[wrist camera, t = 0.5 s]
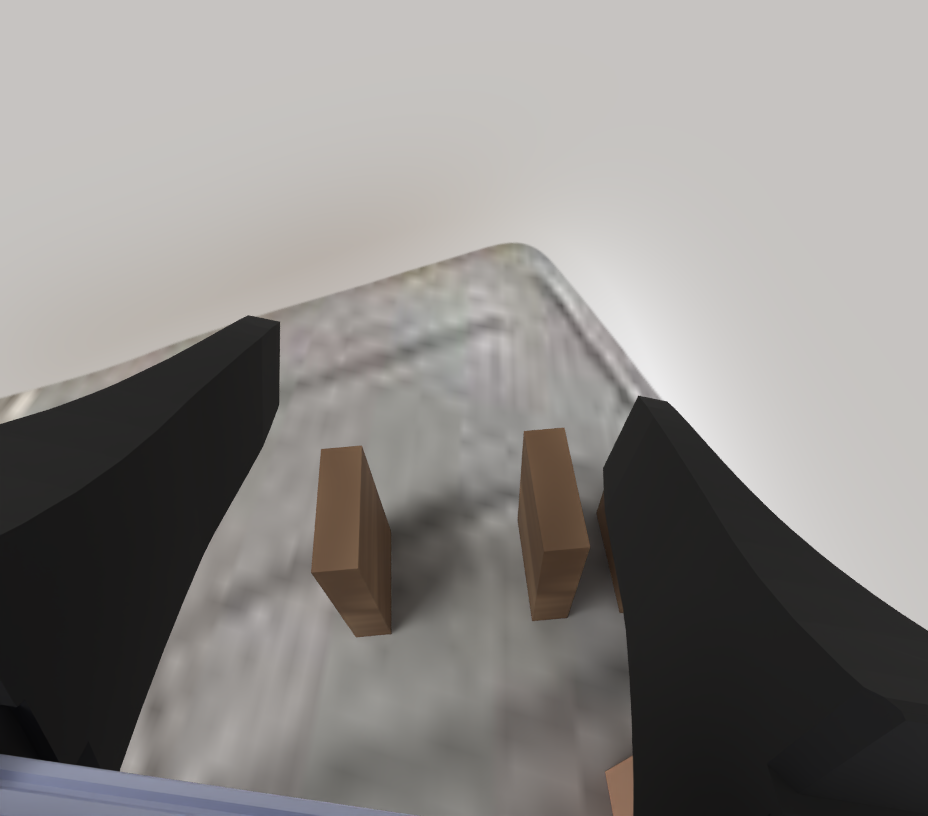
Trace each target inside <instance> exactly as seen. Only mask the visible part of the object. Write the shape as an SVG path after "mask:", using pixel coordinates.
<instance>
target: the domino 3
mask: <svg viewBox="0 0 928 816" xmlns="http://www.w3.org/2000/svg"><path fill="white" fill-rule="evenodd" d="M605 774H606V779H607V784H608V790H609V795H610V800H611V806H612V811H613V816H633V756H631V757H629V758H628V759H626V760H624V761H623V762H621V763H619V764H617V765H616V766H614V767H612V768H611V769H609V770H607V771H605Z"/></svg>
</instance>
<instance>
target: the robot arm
mask: <svg viewBox="0 0 928 816" xmlns="http://www.w3.org/2000/svg"><path fill="white" fill-rule="evenodd" d="M279 369H280V322H278V321H273V320H268V319H264V318H259V317H254V316H246V317H244V318H242V319H240V320H238V321H236V322H234V323H233V324H231V325H229V326H227V327H225V328H224V329H222V330H220V331H218V332H216V333H215V334H213V335H211V336H209V337H208V338H206V339H204V340H202V341H200V342H199V343H197V344H195V345H193V346H191V347H189V348H187V349H186V350H184V351H182V352H180V353H178V354H176V355H175V356H173V357H171V358H169V359H167V360H165V361H163V362H161V363H159V364H157V365H154V366H152V367H150V368H148V369H146V370H144V371H142V372H140V373H138V374H136V375H134V376H132V377H129V378H127V379H125V380H123V381H121V382H119V383H117V384H114V385H112V386H110V387H107V388H105V389H102V390H100V391H97V392H95V393H93V394H90V395H87V396H85V397H82V398H79V399H77V400H74V401H71V402H69V403H66V404H63V405H60V406H58V407H55V408H52V409H49V410H46V411H42V412H39V413H36V414H32V415H29V416H26V417H23V418H19V419H16V420H13V421H9V422H6V423H3V424H0V816H417V815H411V814H404V813H397V812H390V811H383V810H377V809H370V808H363V807H356V806H350V805H343V804H336V803H329V802H322V801H316V800H309V799H302V798H295V797H288V796H282V795H275V794H268V793H261V792H254V791H248V790H241V789H234V788H227V787H220V786H214V785H207V784H200V783H193V782H187V781H180V780H173V779H166V778H159V777H153V776H146V775H139V774H132V773H125V772H119V771H120V768H121V765H122V762H123V760H124V757H125V754H126V751H127V748H128V746H129V743H130V740H131V737H132V734H133V731H134V729H135V726H136V723H137V720H138V717H139V715H140V712H141V709H142V706H143V704H144V701H145V698H146V696H147V693H148V690H149V688H150V685H151V682H152V680H153V677H154V675H155V672H156V669H157V667H158V664H159V661H160V659H161V656H162V653H163V651H164V648H165V646H166V643H167V641H168V638H169V636H170V633H171V631H172V629H173V626H174V624H175V621H176V619H177V616H178V614H179V611H180V609H181V606H182V604H183V601H184V599H185V597H186V594H187V592H188V590H189V587H190V585H191V583H192V580H193V578H194V575H195V573H196V571H197V568H198V566H199V564H200V561H201V559H202V557H203V555H204V553H205V551H206V549H207V547H208V545H209V543H210V541H211V539H212V537H213V535H214V533H215V531H216V529H217V528H218V526H219V524H220V522H221V521H222V519H223V517H224V515H225V514H226V512H227V510H228V508H229V506H230V505H231V503H232V501H233V499H234V498H235V496H236V494H237V492H238V491H239V489H240V487H241V485H242V483H243V482H244V480H245V478H246V476H247V475H248V473H249V471H250V469H251V467H252V466H253V464H254V462H255V460H256V458H257V457H258V455H259V453H260V451H261V449H262V447H263V445H264V443H265V440H266V438H267V435H268V433H269V430H270V428H271V425H272V422H273V420H274V417H275V414H276V412H277V409H278V406H279ZM603 479H604V505H605V515H606V521H607V527H608V532H609V538H610V543H611V549H612V554H613V559H614V564H615V570H616V575H617V580H618V585H619V591H620V596H621V601H622V606H623V613H624V620H625V627H626V637H627V650H628V663H629V676H630V695H631V715H632V745H633V816H928V631H927V630H926V629H924V628H923V627H921V626H920V625H918V624H916V623H915V622H913V621H912V620H910V619H909V618H907V617H906V616H904V615H902V614H901V613H900V612H898V611H897V610H895V609H894V608H892V607H891V606H889V605H888V604H886V603H885V602H884V601H882V600H881V599H879V598H878V597H876V596H875V595H873V594H872V593H871V592H870V591H868V590H867V589H866V588H864V587H863V586H862V585H860V584H859V583H857V582H856V581H855V580H853V579H852V578H851V577H849V576H848V575H847V574H845V573H844V572H843V571H841V570H840V569H839V568H837V567H836V566H835V565H833V564H832V563H831V562H830V561H829V560H827V559H826V558H825V557H823V556H822V555H821V554H820V553H819V552H817V551H816V550H815V549H814V548H813V547H811V546H810V545H809V544H808V543H807V542H806V541H804V540H803V539H802V538H801V537H800V536H799V535H797V534H796V533H795V532H794V531H793V530H791V529H790V528H789V527H788V526H787V525H786V524H785V523H784V522H783V521H782V520H780V519H779V518H778V517H777V516H776V515H775V514H774V513H773V512H772V511H771V510H770V509H769V508H768V507H767V506H766V505H764V504H763V502H762V501H761V500H760V499H759V498H758V497H757V496H756V495H754V493H752V491H750V490H749V489H748V487H747V486H746V485H745V484H744V483H743V482H742V481H741V480H740V479H739V478H738V477H737V476H736V475H735V474H734V473H733V472H732V471H731V470H730V469H729V468H728V467H727V465H726V464H725V463H724V462H723V461H722V460H721V459H720V458H719V457H718V456H717V454H716V453H715V452H714V451H713V450H712V449H711V448H710V447H709V446H708V445H707V443H706V442H705V441H704V440H703V439H702V438H701V437H700V436H699V434H698V433H697V432H696V431H695V430H694V429H693V428H692V427H691V425H690V424H689V423H688V422H687V421H686V420H685V419H684V418H683V417H682V416H681V415H680V414H679V413H678V411H677V410H675V408H674V407H672V406H671V405H670V404H669V403H668V402H666V401H661V400H657V399H652V398H647V397H642V396H638V398H637V400H636V402H635V404H634V406H633V408H632V410H631V412H630V414H629V416H628V418H627V420H626V422H625V424H624V426H623V428H622V431H621V433H620V435H619V437H618V439H617V441H616V443H615V445H614V447H613V449H612V451H611V453H610V455H609V457H608V459H607V461H606V463H605V466H604V468H603Z"/></svg>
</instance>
